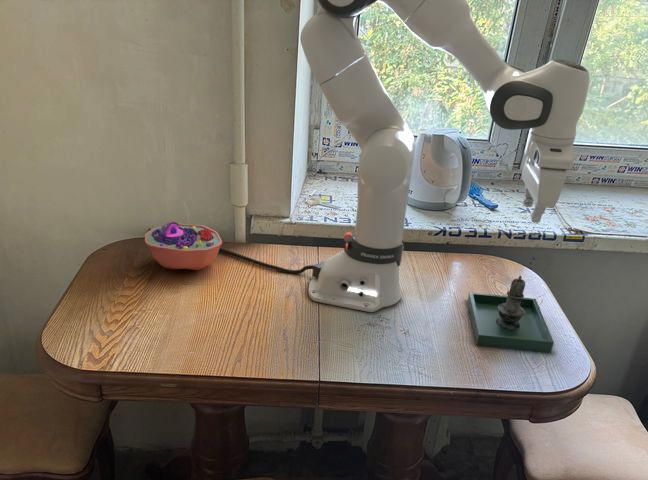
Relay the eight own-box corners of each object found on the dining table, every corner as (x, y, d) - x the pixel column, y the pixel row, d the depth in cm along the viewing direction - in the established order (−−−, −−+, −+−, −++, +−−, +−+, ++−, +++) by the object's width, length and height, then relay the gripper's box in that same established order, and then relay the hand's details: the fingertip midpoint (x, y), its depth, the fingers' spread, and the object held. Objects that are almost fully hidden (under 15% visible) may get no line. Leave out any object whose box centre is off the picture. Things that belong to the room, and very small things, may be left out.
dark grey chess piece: (522, 331, 133) (536, 283, 126) (495, 327, 134) (507, 279, 127) (519, 318, 138) (533, 271, 131) (493, 315, 139) (505, 268, 132)
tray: (476, 345, 129) (478, 334, 127) (467, 301, 145) (469, 292, 144) (550, 352, 127) (553, 342, 126) (532, 308, 144) (535, 298, 142)
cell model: (199, 289, 144) (197, 245, 138) (132, 270, 151) (127, 227, 144) (236, 262, 157) (235, 222, 151) (173, 246, 164) (169, 206, 157)
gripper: (524, 134, 131) (509, 196, 138) (541, 160, 114) (523, 229, 121) (553, 137, 130) (537, 198, 138) (575, 163, 113) (555, 232, 121)
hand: (530, 213), depth 129 cm, fingers open, 8 cm apart
